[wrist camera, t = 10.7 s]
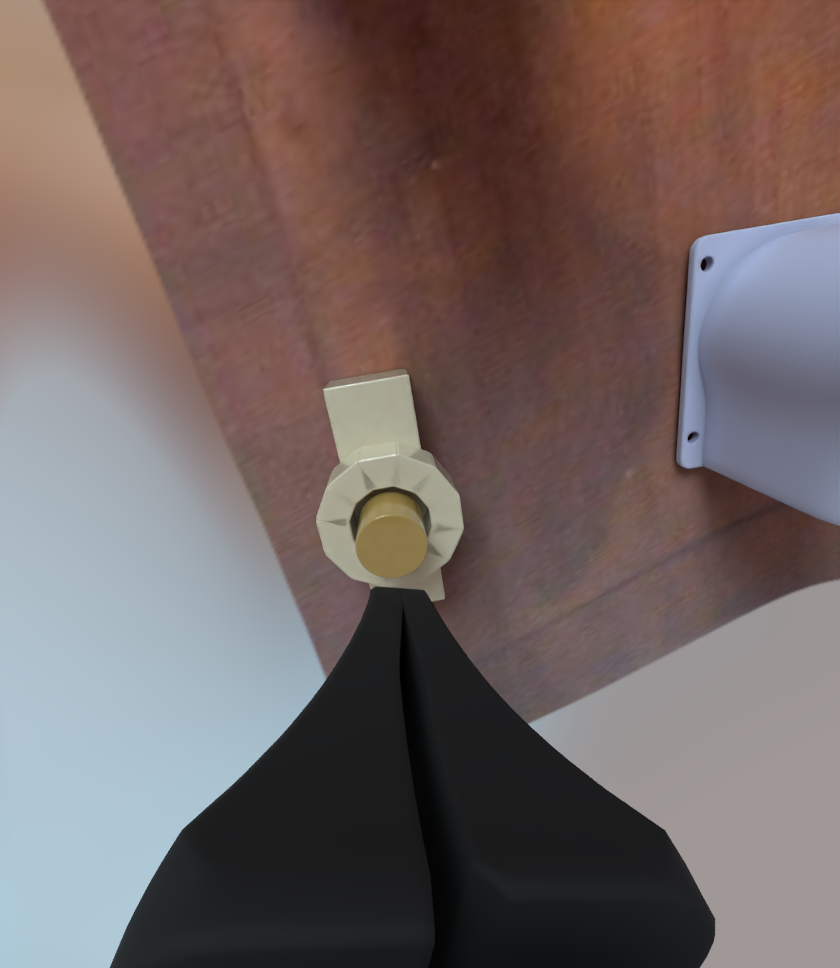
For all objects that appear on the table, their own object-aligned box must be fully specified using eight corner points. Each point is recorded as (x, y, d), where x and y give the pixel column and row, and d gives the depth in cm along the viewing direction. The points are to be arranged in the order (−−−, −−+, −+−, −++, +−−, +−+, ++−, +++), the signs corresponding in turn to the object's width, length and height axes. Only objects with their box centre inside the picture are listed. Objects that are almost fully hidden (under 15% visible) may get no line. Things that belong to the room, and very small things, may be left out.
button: (427, 543, 17) (433, 571, 15) (365, 553, 17) (363, 584, 15) (417, 485, 16) (422, 508, 14) (352, 497, 16) (348, 522, 14)
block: (460, 569, 21) (476, 621, 18) (355, 588, 21) (349, 645, 18) (431, 363, 18) (443, 375, 14) (303, 385, 18) (282, 403, 14)
